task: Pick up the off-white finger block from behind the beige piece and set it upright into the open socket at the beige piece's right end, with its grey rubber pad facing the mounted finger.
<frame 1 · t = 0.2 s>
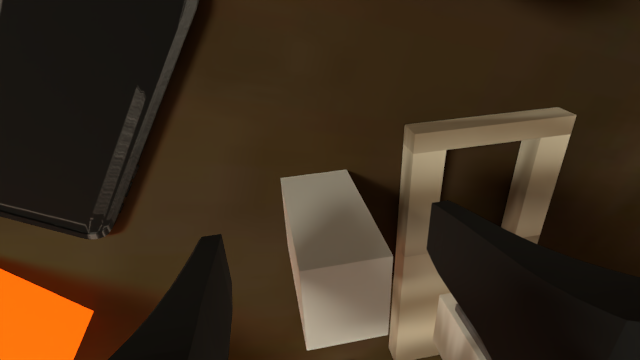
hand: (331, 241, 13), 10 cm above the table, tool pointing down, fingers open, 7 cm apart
phone: (73, 90, 18), on the table
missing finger: (315, 208, 24), on the table
beige piece: (460, 245, 28), on the table
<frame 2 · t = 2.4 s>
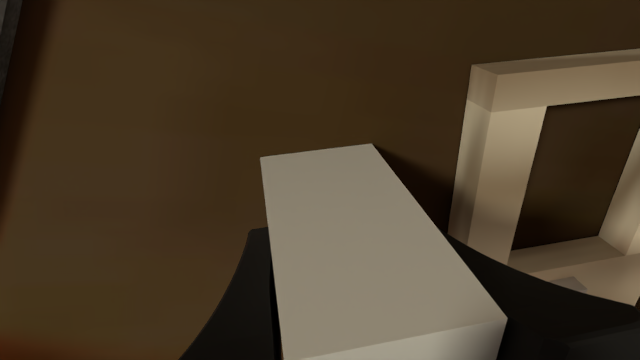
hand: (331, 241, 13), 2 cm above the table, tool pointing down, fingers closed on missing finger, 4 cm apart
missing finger: (320, 209, 15), on the table, touching gripper
beige piece: (536, 264, 18), on the table
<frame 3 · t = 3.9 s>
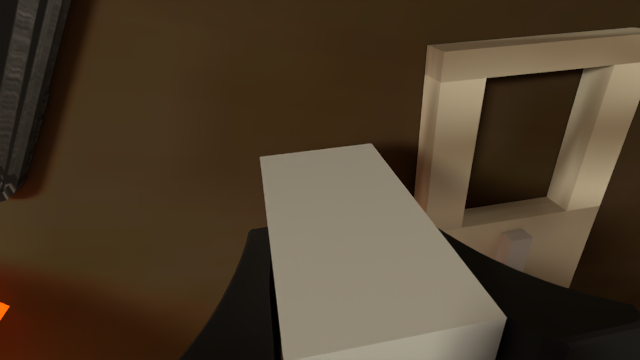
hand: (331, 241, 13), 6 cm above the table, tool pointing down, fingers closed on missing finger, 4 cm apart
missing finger: (320, 209, 15), point 4 cm above the table, touching gripper
beige piece: (494, 221, 22), on the table
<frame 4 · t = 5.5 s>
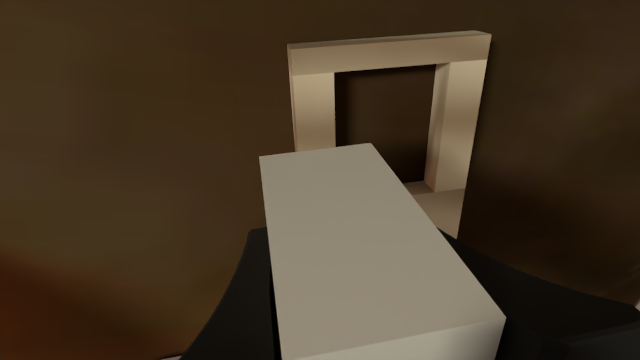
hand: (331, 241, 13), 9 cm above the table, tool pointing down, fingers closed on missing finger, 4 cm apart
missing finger: (319, 208, 15), point 7 cm above the table, touching gripper
beige piece: (377, 202, 24), on the table
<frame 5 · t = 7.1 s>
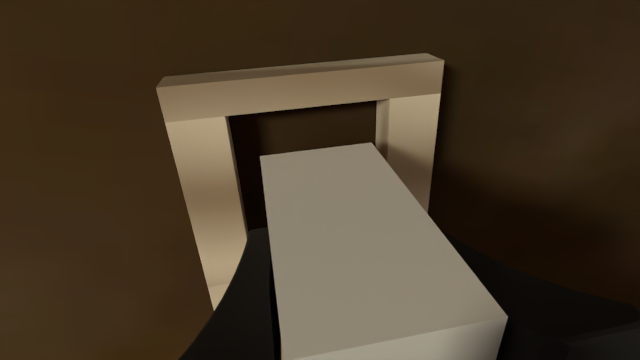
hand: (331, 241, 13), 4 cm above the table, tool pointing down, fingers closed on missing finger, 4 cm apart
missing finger: (320, 208, 15), point 2 cm above the table, touching gripper
beige piece: (315, 266, 19), on the table
when the fingers open (3 cm above the table, at t = 8.6 s): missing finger drops 1 cm, resting in beige piece.
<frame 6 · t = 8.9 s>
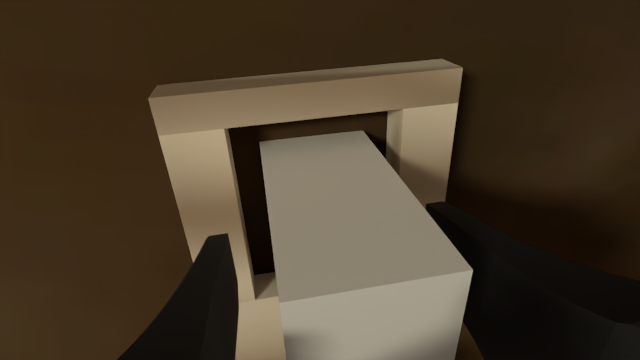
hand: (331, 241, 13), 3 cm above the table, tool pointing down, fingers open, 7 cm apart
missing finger: (315, 192, 16), resting in beige piece
beige piece: (320, 283, 18), on the table
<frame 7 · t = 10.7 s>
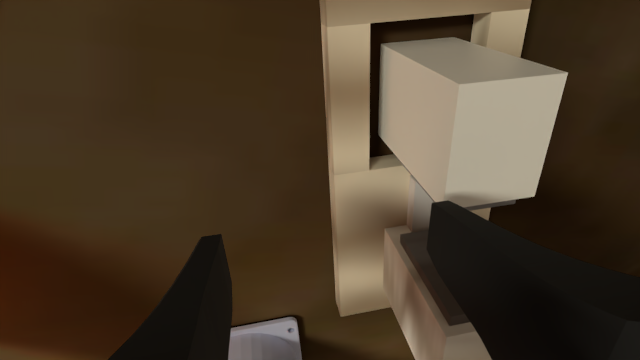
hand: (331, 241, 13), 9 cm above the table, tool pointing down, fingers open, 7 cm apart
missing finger: (414, 88, 21), resting in beige piece
beige piece: (409, 169, 23), on the table
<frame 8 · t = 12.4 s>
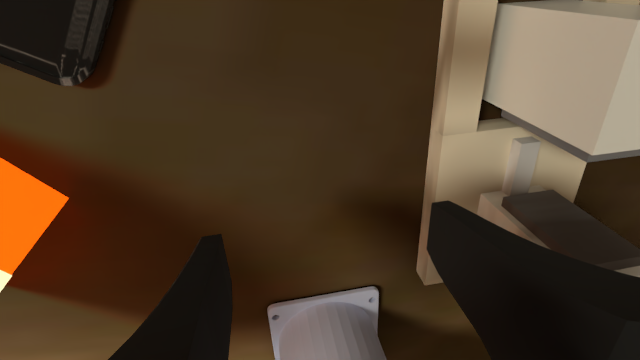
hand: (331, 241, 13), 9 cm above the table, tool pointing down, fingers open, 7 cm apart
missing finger: (521, 51, 21), resting in beige piece
beige piece: (504, 135, 23), on the table
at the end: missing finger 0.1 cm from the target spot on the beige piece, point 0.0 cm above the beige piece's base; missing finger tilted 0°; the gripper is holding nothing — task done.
